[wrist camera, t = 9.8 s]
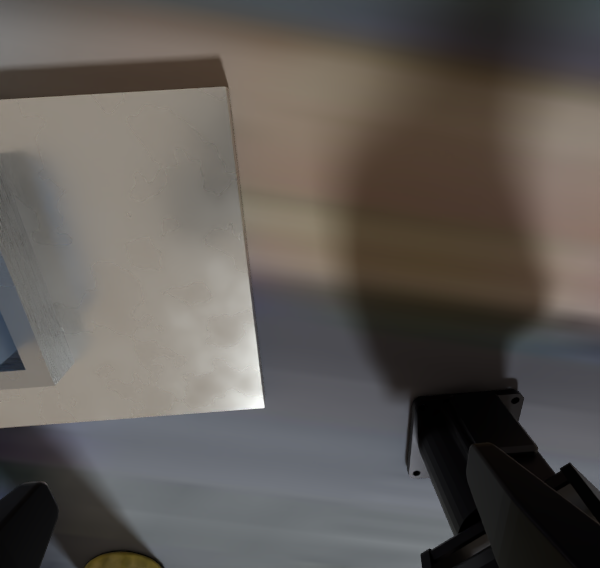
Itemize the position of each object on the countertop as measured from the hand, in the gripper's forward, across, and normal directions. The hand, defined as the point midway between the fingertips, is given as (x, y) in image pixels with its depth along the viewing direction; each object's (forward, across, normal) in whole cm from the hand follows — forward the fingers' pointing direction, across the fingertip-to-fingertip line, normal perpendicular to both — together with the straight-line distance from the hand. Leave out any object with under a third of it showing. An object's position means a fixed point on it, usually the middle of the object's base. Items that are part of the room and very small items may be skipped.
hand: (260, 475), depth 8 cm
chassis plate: (+12, +11, -1) cm, 16 cm away
